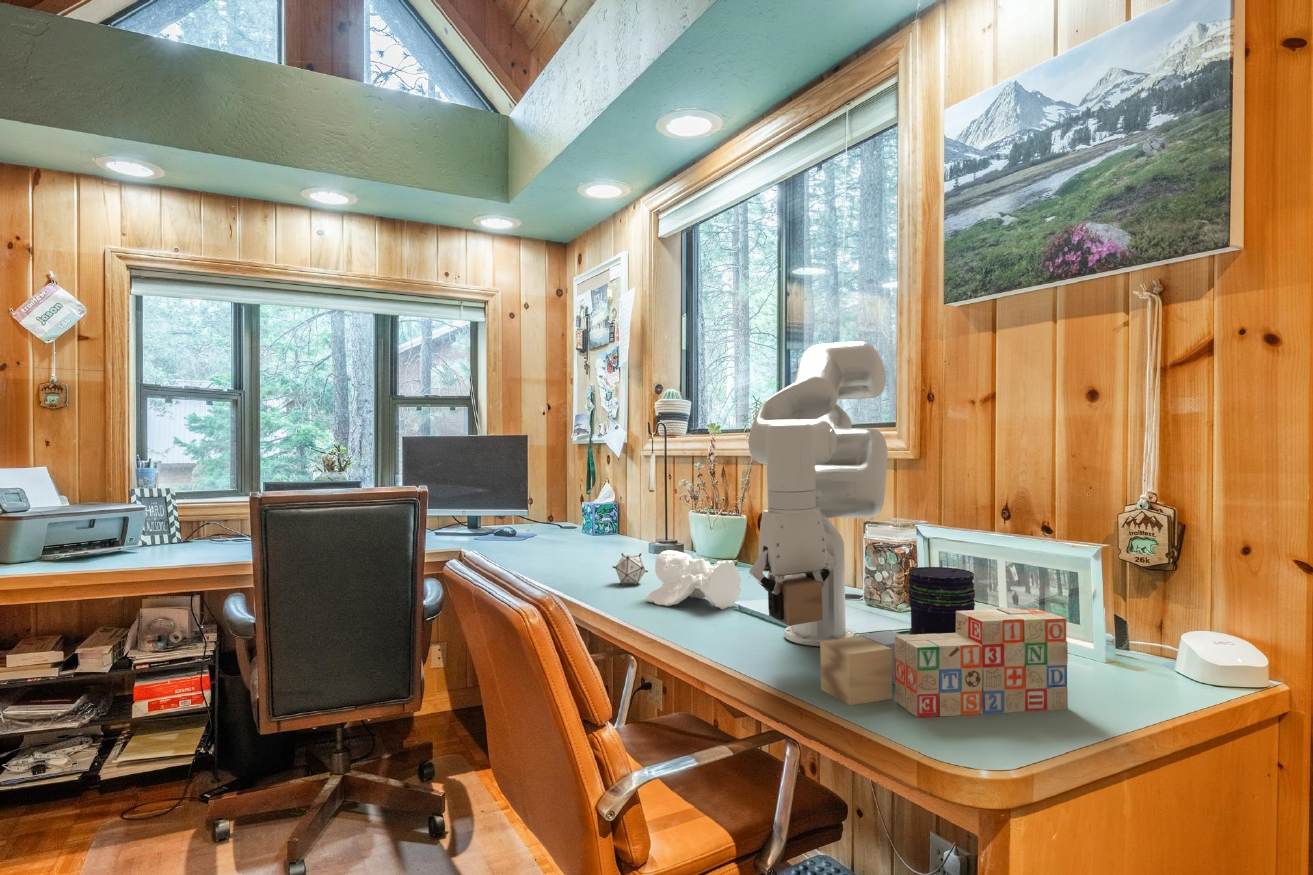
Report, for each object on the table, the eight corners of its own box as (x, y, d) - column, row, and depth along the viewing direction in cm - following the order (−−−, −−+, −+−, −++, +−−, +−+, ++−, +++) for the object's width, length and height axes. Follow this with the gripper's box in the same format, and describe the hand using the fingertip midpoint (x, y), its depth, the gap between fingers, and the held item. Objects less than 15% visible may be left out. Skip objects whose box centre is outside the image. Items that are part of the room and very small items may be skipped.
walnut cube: (768, 615, 114) (767, 578, 114) (800, 610, 116) (799, 574, 116) (789, 625, 109) (788, 586, 108) (822, 620, 111) (821, 581, 111)
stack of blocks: (916, 719, 92) (915, 623, 92) (894, 702, 98) (893, 612, 98) (1069, 709, 95) (1067, 616, 95) (1038, 693, 101) (1036, 606, 101)
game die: (636, 597, 185) (658, 565, 187) (629, 592, 177) (652, 558, 180) (609, 579, 188) (631, 547, 190) (601, 572, 181) (624, 540, 183)
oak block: (820, 689, 103) (820, 641, 103) (861, 683, 106) (860, 636, 106) (850, 705, 97) (849, 654, 97) (892, 698, 99) (891, 648, 99)
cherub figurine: (703, 566, 149) (639, 547, 163) (700, 624, 150) (637, 600, 164) (743, 557, 158) (679, 540, 172) (740, 612, 159) (677, 590, 173)
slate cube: (859, 673, 110) (859, 634, 110) (891, 668, 113) (890, 630, 113) (885, 685, 105) (884, 644, 105) (918, 680, 107) (917, 639, 107)
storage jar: (943, 679, 107) (942, 579, 107) (895, 662, 116) (894, 569, 116) (990, 670, 111) (989, 574, 111) (941, 654, 120) (939, 564, 120)
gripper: (824, 494, 118) (826, 601, 119) (731, 502, 112) (735, 616, 113) (852, 499, 112) (855, 612, 112) (755, 508, 105) (759, 629, 106)
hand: (795, 613), depth 113 cm, fingers closed on walnut cube, 6 cm apart
